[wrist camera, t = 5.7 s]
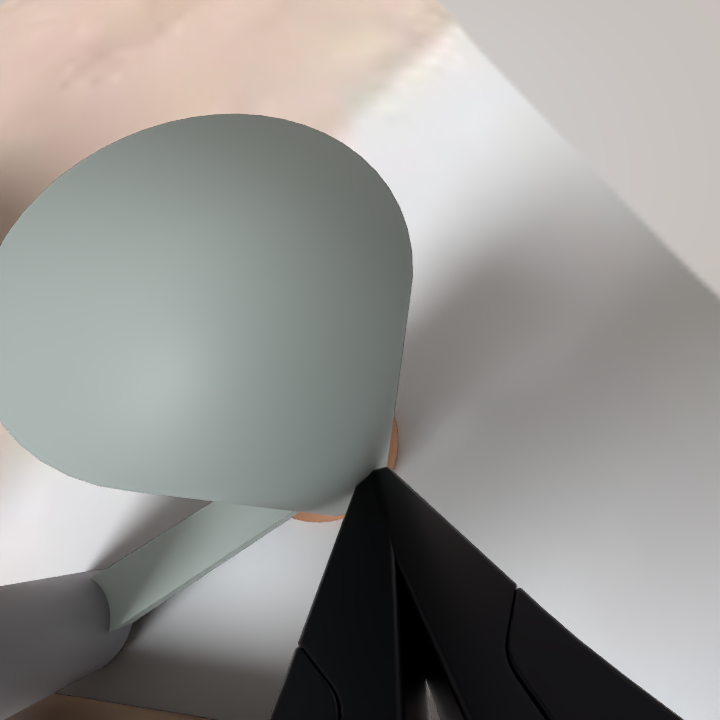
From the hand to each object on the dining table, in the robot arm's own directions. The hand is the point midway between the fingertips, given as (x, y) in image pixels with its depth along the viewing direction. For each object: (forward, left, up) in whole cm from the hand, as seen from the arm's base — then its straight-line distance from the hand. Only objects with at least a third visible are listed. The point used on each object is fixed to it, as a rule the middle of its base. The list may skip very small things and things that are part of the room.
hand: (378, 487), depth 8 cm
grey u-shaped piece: (-3, +5, -6) cm, 8 cm away
